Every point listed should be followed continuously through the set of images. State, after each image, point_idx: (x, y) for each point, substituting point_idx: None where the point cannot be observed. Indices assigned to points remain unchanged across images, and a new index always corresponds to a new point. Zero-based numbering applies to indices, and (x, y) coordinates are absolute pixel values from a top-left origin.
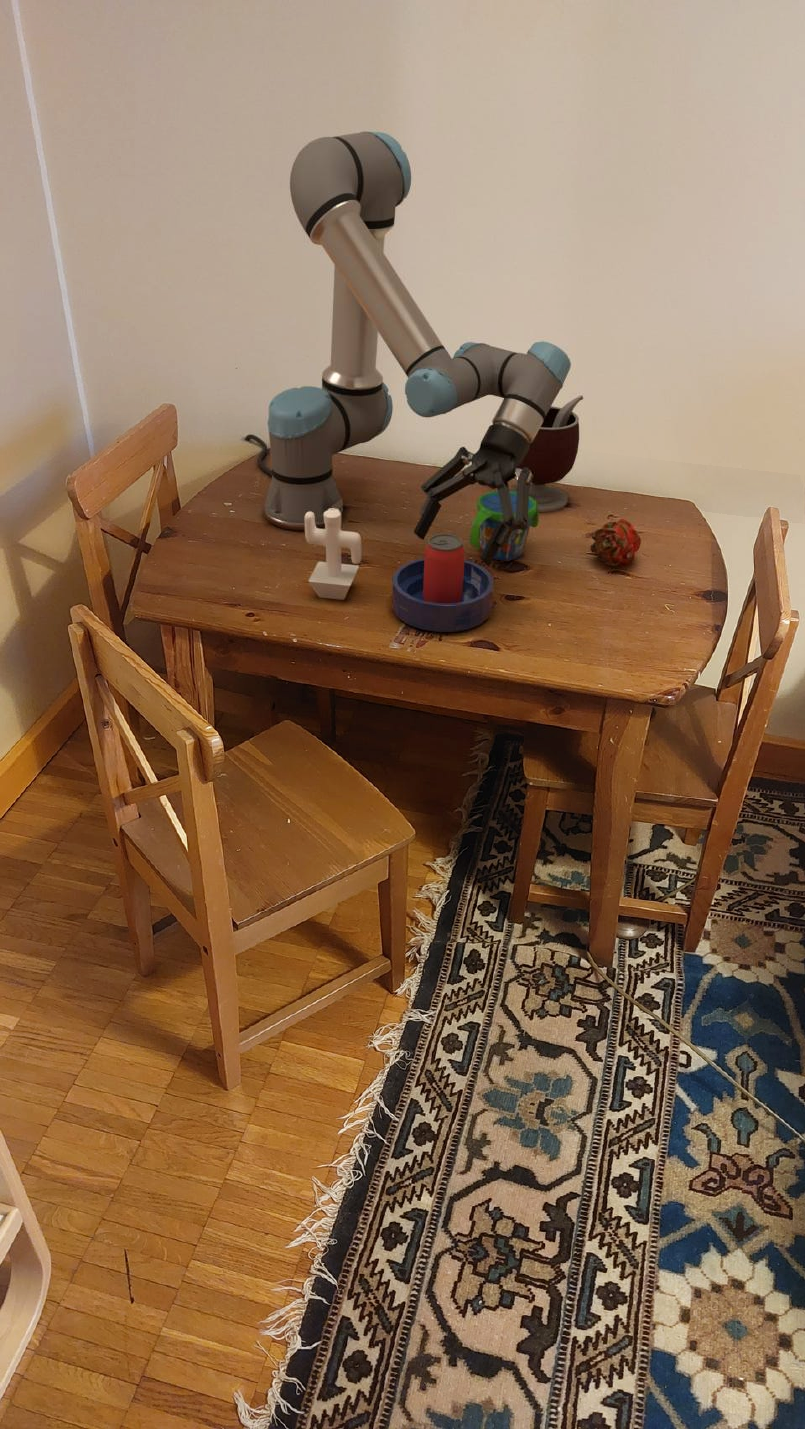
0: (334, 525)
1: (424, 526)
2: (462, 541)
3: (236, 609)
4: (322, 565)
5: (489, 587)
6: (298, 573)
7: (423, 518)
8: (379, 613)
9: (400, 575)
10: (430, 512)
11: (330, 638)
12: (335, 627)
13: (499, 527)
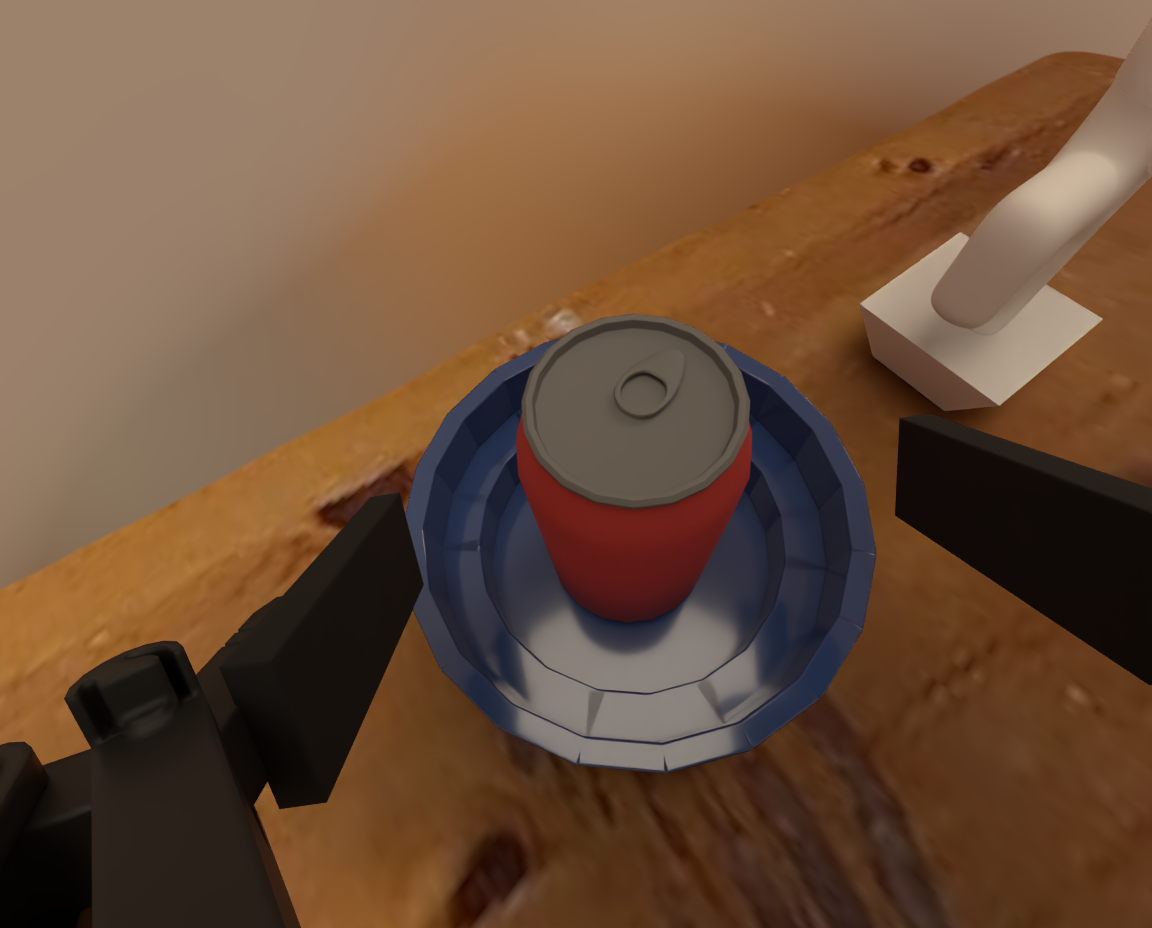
0: (1116, 73)
1: (945, 482)
2: (560, 482)
3: (965, 156)
4: (1061, 312)
5: (433, 620)
6: (1125, 347)
7: (991, 448)
8: None
9: (800, 433)
10: (1043, 512)
11: (701, 236)
12: (741, 267)
13: (260, 633)
